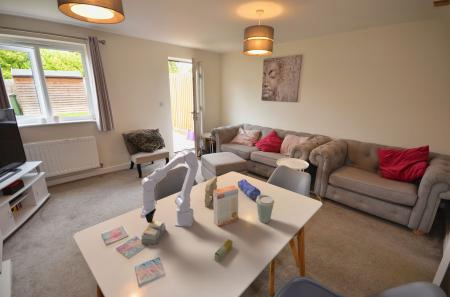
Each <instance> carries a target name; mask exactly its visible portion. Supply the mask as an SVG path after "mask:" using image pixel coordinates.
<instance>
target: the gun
mask: <svg viewBox="0 0 450 297" xmlns="http://www.w3.org/2000/svg"><path fill="white" fill-rule="evenodd" d="M217 182H218V176H216V175H214V176H213V177H211V179H210V180H209V181H208V182H206V184H205V190H204V192H205V194H204V207H207V208H209V207H210V205H211V203H212V201H211V200H213V190H217V189H218V185H217Z"/></svg>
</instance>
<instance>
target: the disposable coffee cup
mask: <svg viewBox="0 0 450 297" xmlns="http://www.w3.org/2000/svg"><path fill="white" fill-rule="evenodd" d="M255 202H256V207H257V208H256V209H257V216H258V221H259V222H260V223H263V224H268V223H269V222H270V221H271V217H272V213H273V209H274V204H275V200H274V198H273V197H272V196H271V195H268V194H262V193H261V195H259V196H258V197H257V199H256V200H255Z"/></svg>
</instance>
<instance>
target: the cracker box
mask: <svg viewBox="0 0 450 297" xmlns="http://www.w3.org/2000/svg"><path fill="white" fill-rule="evenodd" d="M212 200H213V202H212V203H213V222H214V223H215V225H216V226H217V227H222V226H223V225H226V224H230V223H233V222H235V221H238V220H239V187H238V186H237V187H236V186H235V185H229V186H225V187H222V188H217V190H213V198H212Z"/></svg>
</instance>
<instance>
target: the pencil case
mask: <svg viewBox="0 0 450 297" xmlns="http://www.w3.org/2000/svg"><path fill="white" fill-rule="evenodd" d="M237 188H238V189H240V190H241V191H242V192H243V193H244V194H245V196H247V197H249V198H250V199H251V200H252V201H256V199H257V197H258V196H259V195H261V194H262V193H261V190H260V189H259V188H257V186H255V185H252V183H250V182H248V181H247V179H241V180H239V181H237Z"/></svg>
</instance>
